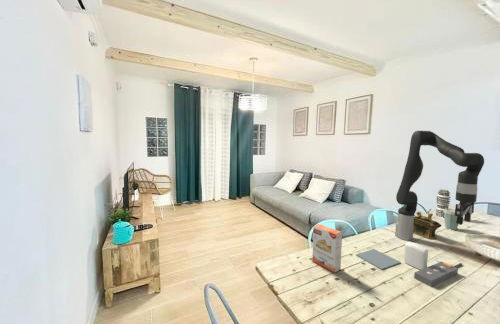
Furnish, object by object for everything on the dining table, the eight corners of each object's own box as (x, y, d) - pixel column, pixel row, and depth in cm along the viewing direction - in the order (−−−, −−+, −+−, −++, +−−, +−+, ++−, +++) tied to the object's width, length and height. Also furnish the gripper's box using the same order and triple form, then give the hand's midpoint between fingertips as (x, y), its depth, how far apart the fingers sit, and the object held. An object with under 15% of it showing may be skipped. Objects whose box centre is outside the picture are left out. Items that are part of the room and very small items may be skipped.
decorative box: (441, 238, 150) (443, 211, 148) (432, 240, 147) (434, 212, 145) (411, 228, 169) (413, 203, 167) (402, 229, 165) (404, 204, 164)
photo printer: (402, 262, 120) (403, 241, 119) (406, 260, 122) (408, 239, 121) (423, 272, 111) (425, 249, 110) (428, 270, 113) (430, 247, 112)
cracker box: (311, 261, 120) (312, 225, 119) (318, 258, 124) (319, 223, 122) (334, 273, 109) (336, 234, 107) (341, 269, 113) (342, 231, 111)
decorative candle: (450, 220, 186) (452, 191, 184) (436, 218, 191) (438, 190, 189) (447, 216, 194) (449, 189, 192) (434, 215, 199) (436, 188, 197)
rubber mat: (355, 255, 127) (355, 254, 127) (373, 249, 134) (373, 249, 134) (381, 269, 113) (381, 268, 113) (400, 263, 119) (400, 262, 119)
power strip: (413, 277, 106) (413, 270, 106) (452, 261, 121) (453, 255, 121) (430, 286, 100) (431, 279, 99) (470, 268, 115) (470, 261, 114)
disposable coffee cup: (456, 227, 170) (458, 209, 168) (463, 232, 160) (465, 213, 159) (439, 225, 174) (441, 207, 173) (445, 230, 164) (446, 211, 163)
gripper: (463, 189, 116) (460, 218, 117) (450, 191, 110) (447, 222, 111) (482, 192, 109) (479, 222, 111) (469, 195, 103) (466, 227, 105)
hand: (463, 222), depth 111 cm, fingers open, 8 cm apart
